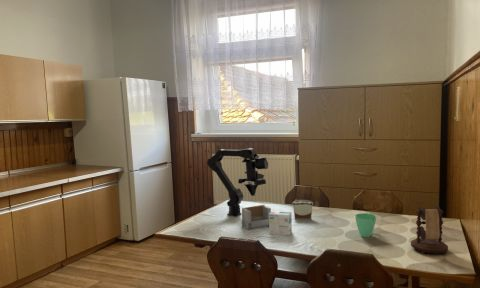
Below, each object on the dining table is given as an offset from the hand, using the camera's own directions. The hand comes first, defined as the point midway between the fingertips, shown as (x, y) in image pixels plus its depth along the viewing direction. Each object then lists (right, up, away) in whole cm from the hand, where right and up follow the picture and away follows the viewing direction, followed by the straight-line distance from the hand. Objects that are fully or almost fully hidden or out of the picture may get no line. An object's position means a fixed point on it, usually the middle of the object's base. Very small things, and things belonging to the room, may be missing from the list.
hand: (253, 195), depth 223 cm
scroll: (+76, -17, -56) cm, 96 cm away
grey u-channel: (+2, -15, -17) cm, 23 cm away
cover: (0, -14, -14) cm, 20 cm away
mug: (+56, -15, -34) cm, 67 cm away
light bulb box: (+13, -16, -29) cm, 35 cm away
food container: (+29, -13, -2) cm, 32 cm away
